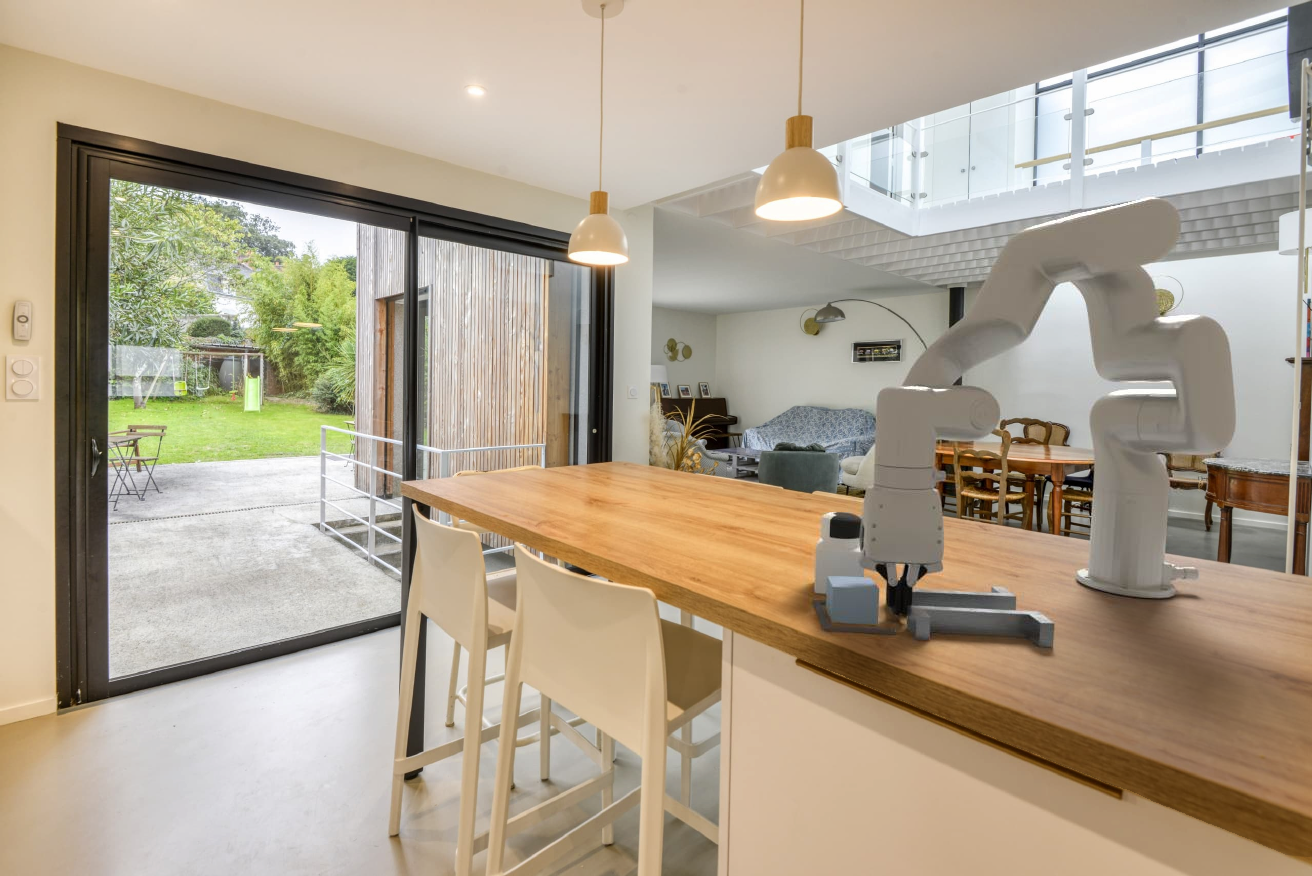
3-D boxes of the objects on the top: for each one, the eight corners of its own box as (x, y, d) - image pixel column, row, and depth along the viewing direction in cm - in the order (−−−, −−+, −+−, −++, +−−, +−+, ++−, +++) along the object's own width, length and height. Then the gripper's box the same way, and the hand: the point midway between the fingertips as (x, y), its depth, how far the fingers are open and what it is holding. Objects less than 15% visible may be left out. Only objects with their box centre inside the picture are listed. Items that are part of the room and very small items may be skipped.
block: (869, 612, 85) (870, 577, 84) (878, 625, 80) (879, 588, 79) (825, 609, 85) (826, 575, 85) (831, 623, 80) (832, 586, 80)
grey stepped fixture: (1002, 607, 86) (1003, 587, 86) (1053, 647, 73) (1054, 623, 73) (887, 601, 88) (887, 582, 88) (915, 639, 75) (916, 616, 75)
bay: (875, 604, 87) (875, 602, 87) (896, 634, 76) (896, 632, 76) (812, 601, 88) (812, 599, 88) (823, 630, 78) (824, 628, 78)
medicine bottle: (863, 584, 96) (865, 511, 96) (863, 599, 90) (865, 520, 89) (817, 580, 99) (819, 508, 98) (814, 593, 92) (816, 516, 91)
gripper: (952, 476, 83) (946, 605, 84) (841, 473, 85) (837, 600, 86) (973, 484, 76) (966, 625, 77) (851, 481, 77) (847, 619, 79)
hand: (898, 611), depth 82 cm, fingers closed
